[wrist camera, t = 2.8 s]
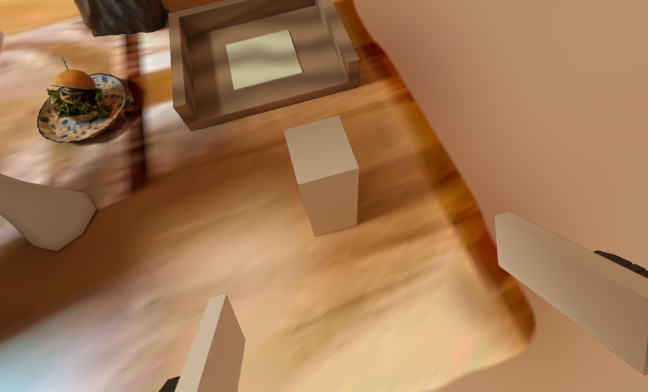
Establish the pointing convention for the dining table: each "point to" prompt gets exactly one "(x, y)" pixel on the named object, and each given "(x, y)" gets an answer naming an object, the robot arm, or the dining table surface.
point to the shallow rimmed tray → (256, 57)
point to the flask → (45, 212)
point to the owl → (122, 16)
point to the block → (325, 173)
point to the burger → (83, 106)
